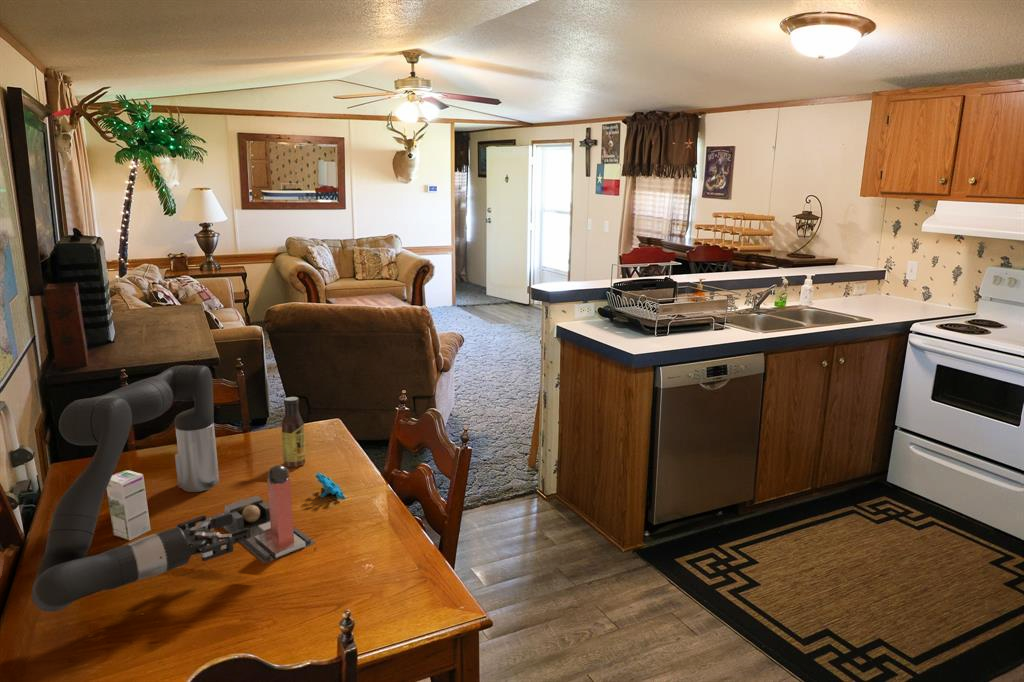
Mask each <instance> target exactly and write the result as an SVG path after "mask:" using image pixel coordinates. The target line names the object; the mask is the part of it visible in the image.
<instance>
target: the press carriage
mask: <svg viewBox="0 0 1024 682" xmlns="http://www.w3.org/2000/svg"><path fill="white" fill-rule="evenodd" d="M266 481H267V495H268V504H269V511H270V522H267V523H264V524H262V525H259V526H258V530H259V535H257V536H255V541H256V542H257V543H258V544H260V545H261V546H262V547H263V548H264V549H265V550H267V551H268V552H269V553H270V554H271V555H273V556H274V557H275V558H277V557H280V556H282V555H285V554H287V553H290V552H293V551H295V550H298V549H300V548H303V547H305V546H306V543H305V541H303V540H302V539H301V538H299V537H298V536H297V535H295V534H294V531H293V526H294V519H293V506H292V505H293V504H292V503H293V501H292V491H291V489H292V488H291V479H290V472H289V470H288V467H286V466H285V465H282V464H276V465H274V466H271V468H270V469H269V470H268V472H267V479H266ZM305 548H306V547H305ZM303 549H304V548H303ZM300 550H301V549H300ZM298 551H299V550H298ZM295 552H296V551H295ZM293 553H294V552H293ZM290 554H291V553H290ZM285 556H286V555H285ZM280 558H281V557H280Z"/></svg>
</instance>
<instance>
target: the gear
mask: <svg viewBox="0 0 1024 682" xmlns="http://www.w3.org/2000/svg"><path fill="white" fill-rule="evenodd" d="M315 478H316V479H317V482H319V484H322V489H323V490H324V491H323V493H321V495H320V498H325V497H327V495H329V494H331V495H336V498H338V499H340V500H341V499H342V500H343V499H346V498H347V497H346V496H345V495H344V492H342V491H343V490H342V489H341V487H340V486H339V485H338V484H336V483H335V482H334V480H332V478H331V477H330V476H327V475H325V474H322V473H321V472H317V474H316V475H315Z"/></svg>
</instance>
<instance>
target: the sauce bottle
mask: <svg viewBox="0 0 1024 682" xmlns="http://www.w3.org/2000/svg"><path fill="white" fill-rule="evenodd" d="M299 400H300V399H299V397H297V396H289V397H284V398H283V405H284V416H283V417H282V419H281V444H282V460H283V466H285V467H286V468H298V467H301V466H303V465H305V463H306V439H305V436H306V435H305V424H304V421H303V418H302V416H301V413H300V410H299V402H300V401H299Z"/></svg>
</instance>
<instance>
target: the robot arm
mask: <svg viewBox="0 0 1024 682" xmlns="http://www.w3.org/2000/svg"><path fill="white" fill-rule="evenodd" d="M212 376H213V375H212V372H211V370H210V368H209V367H208V366H206V365H174V366H172V367H169V368H167V369H165V370H164V371H161V373H159V374H157V375H155V376H150V377H147V378H144V379H141V380H138V381H135V382H133V383H130V384H127V385H125V386H123V387H120V388H117V389H115V390H112V391H109V392H108V393H106V394H103V395H99V396H95V397H94V396H93V397H90V398H89V397H88V398H82V399H80V398H79V399H77V400H73V402H70V403H69V404H68V405H67V406H66V407H65V408H64V410H63V411H62V413H61V415H60V417H59V421H58V430H59V434H60V435H61V436H62V438H63V439H64V440H65V441H66V442H67V443H70V444H71V445H76V446H97V447H96V450H95V452H94V455H93V457H92V458H91V460H90V462H89V463H88V464H87V466H86V467H85V469H84V470H83V471H82V472H81V474H79V475H78V476H77V478H76V479H75V480H74V482H72V483H71V485H70V486H69V487H68V488H67V489H66V490H65V491H64V493H63V494H62V496H61V497H60V499H59V501H58V503H57V504H56V506H55V509H54V512H53V515H52V519H51V522H50V525H49V530H48V534H47V538H46V545H45V550H44V553H43V556H42V560H41V562H40V564H39V568H38V571H37V573H36V576H35V579H34V582H33V586H32V589H31V599H32V602H33V604H34V606H35V607H36V608H38V609H39V610H41V611H42V612H47V613H54V612H59V611H62V610H64V609H65V608H67V607H69V606H70V605H71V604H72V603H73V602H75V601H78V600H80V599H83V598H86V597H88V596H91V595H94V594H96V593H99V592H101V591H111V590H114V589H118V588H120V587H123V586H126V585H128V584H132V583H134V582H137V581H140V580H144V579H148V578H152V577H155V576H157V575H161V574H163V573H166V572H169V571H171V570H174V569H176V568H179V567H182V566H185V565H186V564H188V563H189V562H190V559H191V557H192V556H194V555H201V562H206V561H210V560H213V559H214V558H217V557H220V556H224V555H227V554H230V553H233V552H234V545H235V544H238V543H240V542H241V541H244V540H246V539H249V538H250V536H251V535H250V529H249V528H244V529H241V530H238V531H235V532H232V533H231V534H230V533H222V534H221V533H220V532H218V531H217V532H216V531H215V532H213V531H214V529H215V530H217V529H220V528H223V526H226V525H229V524H232V522H233V517H232V514H230V513H228V514H225V515H222V516H219V517H216V518H212V516H211V517H210V516H209V517H207V515H201V516H197V517H195V518H192V519H190V520H189V519H188V520H187V521H184V522H181V523H178V524H176V526H174V527H171V528H169V529H166V530H163V531H160V532H155V533H154V534H150V535H146V536H144V537H141V538H138V539H136V540H134V541H132V542H130V543H127V544H124V545H122V546H118V547H115V548H111V549H109V550H106V551H103V552H102V553H99V554H95V555H89V556H86V555H87V553H88V551H89V549H90V547H91V545H92V541H93V538H94V535H95V534H94V533H95V530H96V527H97V521H98V517H99V513H100V510H101V506H102V503H103V500H104V498H105V494H106V492H107V486H108V484H109V482H110V479H111V477H112V475H114V472H115V470H116V468H117V466H118V462H119V460H120V457H121V456H122V452H123V450H124V448H125V446H126V443H127V440H128V438H129V435H130V432H131V428H132V425H137V424H143V423H145V422H146V423H147V422H148V421H152V420H154V419H156V418H158V417H160V416H162V415H164V414H165V413H166V412H167V411H168V410H169V409H170V408H171V406H172V404H173V402H194V407H192V408H190V409H187V410H184V411H182V412H179V413H178V414H176V416H175V417H174V427H175V436H176V444H177V446H176V447H177V452H176V453H175V455H174V460H175V471H176V478H177V487H178V488H179V489H182V490H183V491H185V492H189V493H199V492H205V491H207V490H211V489H212V488H213V487H215V486H216V485H217V484H219V483H220V478H219V477H220V476H219V463H218V456H217V455H218V453H217V443H216V435H215V434H216V432H215V423H214V420H215V419H214V412H215V411H214V409H215V408H214V407H215V406H214V391H213V390H214V387H213V386H214V385H213V384H214V383H213V377H212Z"/></svg>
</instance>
